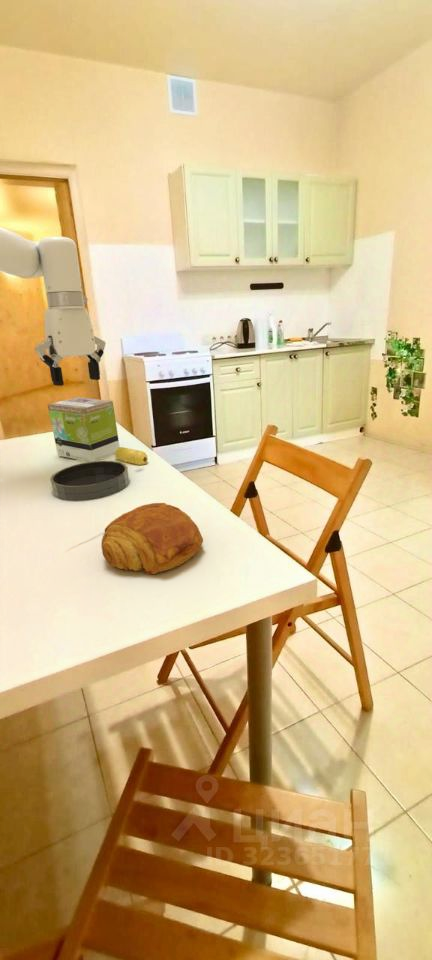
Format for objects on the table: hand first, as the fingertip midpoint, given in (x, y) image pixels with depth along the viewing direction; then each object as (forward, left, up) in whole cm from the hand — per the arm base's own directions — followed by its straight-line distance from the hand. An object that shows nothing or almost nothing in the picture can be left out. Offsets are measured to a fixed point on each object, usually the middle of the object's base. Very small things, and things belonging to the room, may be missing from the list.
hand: (77, 382), depth 103 cm
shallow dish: (+11, -8, -21) cm, 25 cm away
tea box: (-11, +7, -21) cm, 25 cm away
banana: (+5, +7, -21) cm, 23 cm away
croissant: (+44, -19, -21) cm, 52 cm away
